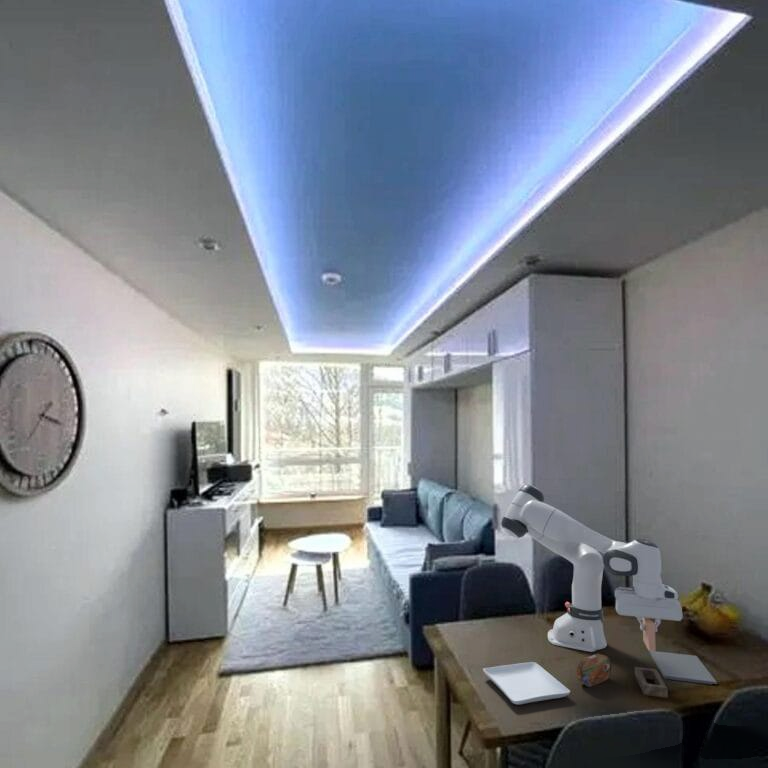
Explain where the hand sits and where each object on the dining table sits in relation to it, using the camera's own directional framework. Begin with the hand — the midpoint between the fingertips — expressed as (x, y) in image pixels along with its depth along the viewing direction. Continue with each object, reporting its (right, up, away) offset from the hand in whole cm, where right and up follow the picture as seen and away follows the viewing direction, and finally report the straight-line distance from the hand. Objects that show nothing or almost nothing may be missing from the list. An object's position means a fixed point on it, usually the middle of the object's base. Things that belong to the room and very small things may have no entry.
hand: (648, 630), depth 170 cm
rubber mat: (+18, -19, +11) cm, 28 cm away
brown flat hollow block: (0, -18, -2) cm, 18 cm away
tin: (-18, -19, +1) cm, 26 cm away
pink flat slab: (0, -5, 0) cm, 5 cm away
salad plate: (-43, -18, -3) cm, 47 cm away
